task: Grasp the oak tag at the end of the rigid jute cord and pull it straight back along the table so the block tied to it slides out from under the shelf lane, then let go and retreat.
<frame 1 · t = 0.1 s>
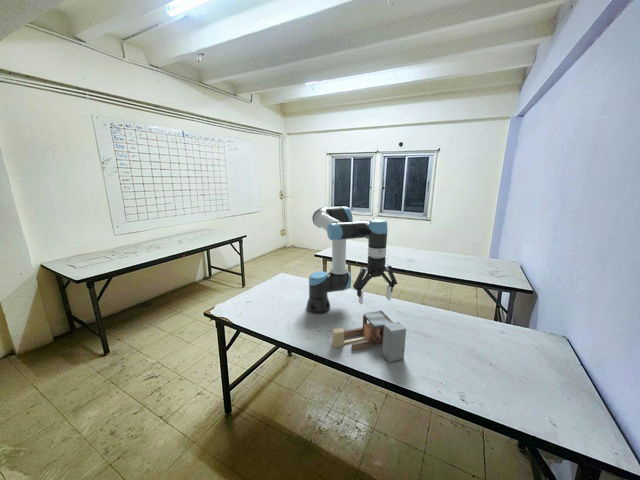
hand: (374, 301, 113), 28 cm above the table, fingers open, 13 cm apart
tether block: (371, 338, 132), on the table
skincare box: (392, 356, 119), on the table
shelf lane: (366, 339, 131), on the table
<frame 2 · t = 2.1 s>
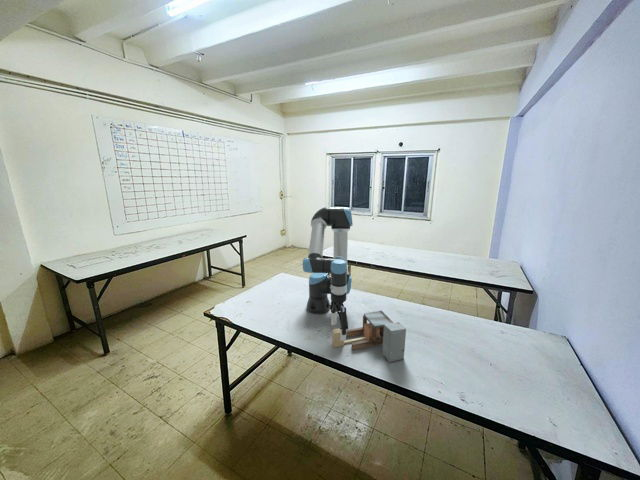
hand: (338, 331, 125), 8 cm above the table, fingers open, 13 cm apart
nothing on the table moved.
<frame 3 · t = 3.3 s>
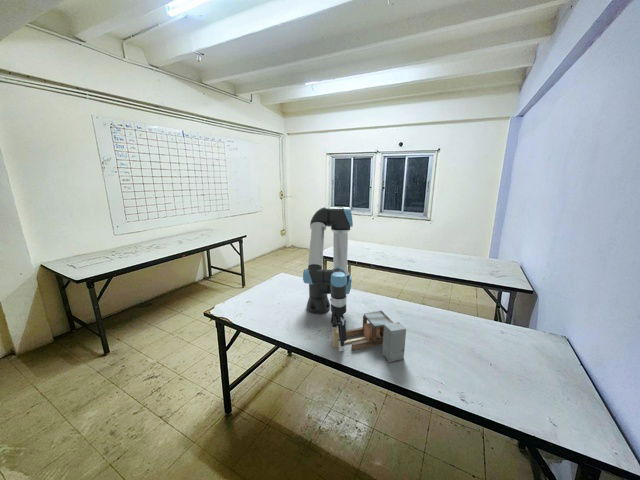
hand: (338, 344, 127), 0 cm above the table, fingers open, 9 cm apart
nothing on the table moved.
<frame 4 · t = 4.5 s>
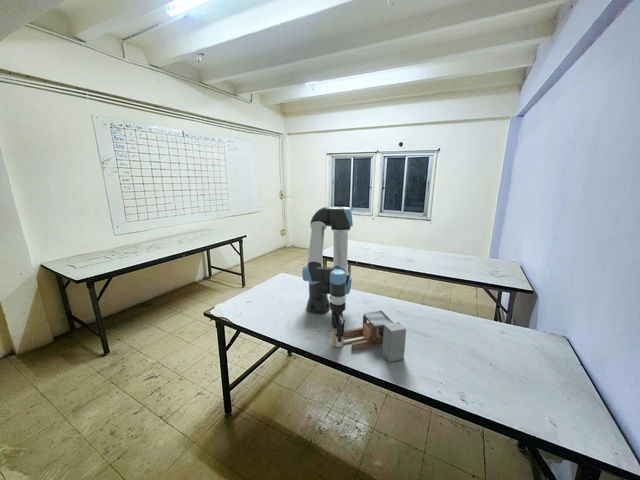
hand: (337, 343, 127), 1 cm above the table, fingers closed on tether block, 3 cm apart
tether block: (370, 337, 132), on the table, touching gripper
everything else where it was.
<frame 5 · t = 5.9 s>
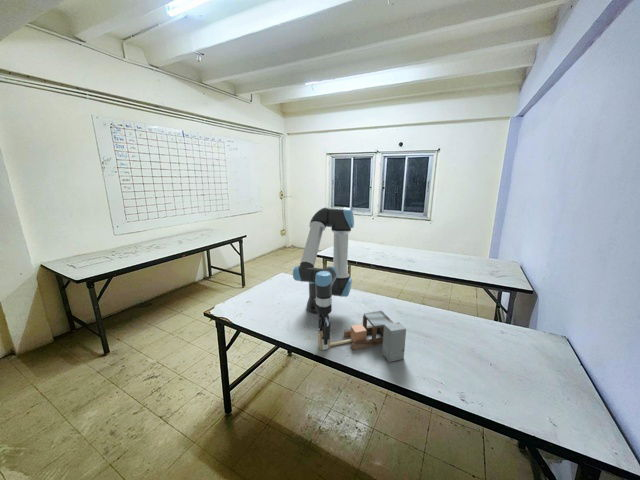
hand: (324, 346, 125), 1 cm above the table, fingers closed on tether block, 3 cm apart
tether block: (358, 339, 130), on the table, touching gripper
everything else where it was.
when the fingers open (1 cm above the table, at t = 7.4 s): tether block stays where it is, on the table.
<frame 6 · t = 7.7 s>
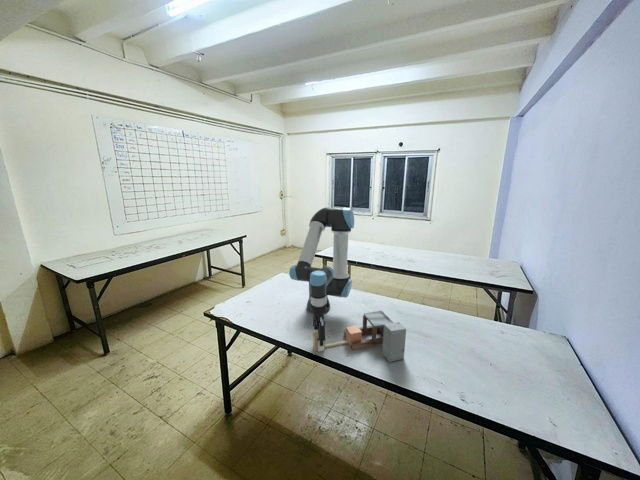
hand: (319, 345, 124), 1 cm above the table, fingers open, 7 cm apart
tether block: (353, 341, 129), on the table
everything else where it was.
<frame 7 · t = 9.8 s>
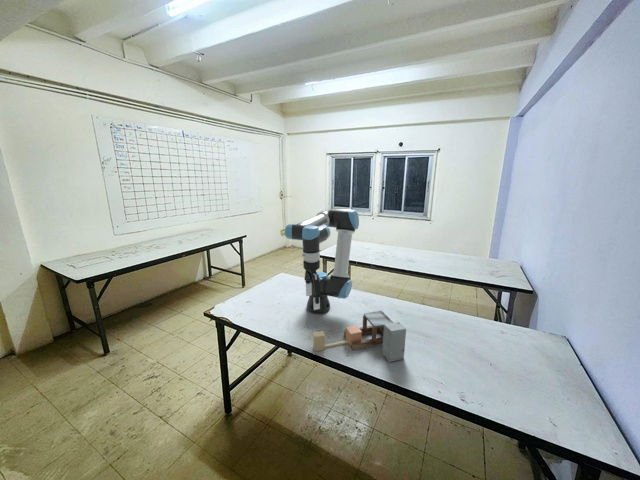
hand: (312, 301, 120), 24 cm above the table, fingers open, 13 cm apart
nothing on the table moved.
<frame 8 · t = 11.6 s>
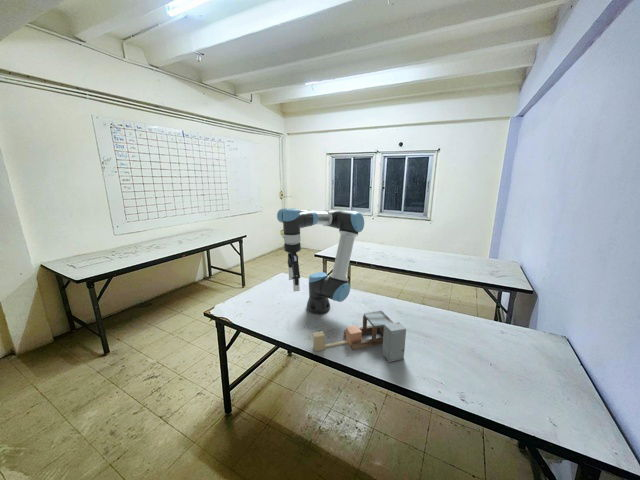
hand: (294, 285, 121), 32 cm above the table, fingers open, 13 cm apart
nothing on the table moved.
at the end: tether block inside the target area (0.4 cm from its centre), on the table; tether block tilted 0°; the gripper is holding nothing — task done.
